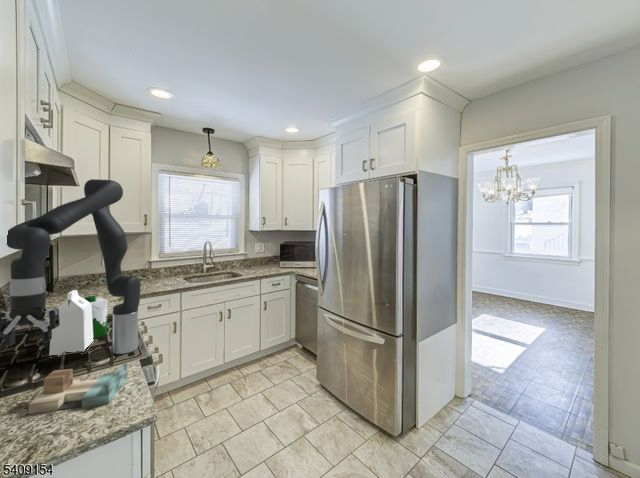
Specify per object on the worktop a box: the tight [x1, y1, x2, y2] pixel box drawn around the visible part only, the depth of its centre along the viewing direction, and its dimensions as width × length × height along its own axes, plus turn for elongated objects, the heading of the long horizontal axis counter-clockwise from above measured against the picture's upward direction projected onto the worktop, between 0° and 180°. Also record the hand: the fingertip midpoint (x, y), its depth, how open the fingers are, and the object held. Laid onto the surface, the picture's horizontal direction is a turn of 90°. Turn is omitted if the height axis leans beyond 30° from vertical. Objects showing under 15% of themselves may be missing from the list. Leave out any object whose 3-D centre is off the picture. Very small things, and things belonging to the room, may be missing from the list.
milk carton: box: [84, 295, 109, 339], centre depth 135 cm, size 9×9×20 cm
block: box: [42, 368, 74, 394], centre depth 87 cm, size 5×5×5 cm
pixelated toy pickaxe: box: [28, 363, 128, 415], centre depth 89 cm, size 14×20×6 cm
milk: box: [48, 289, 94, 357], centre depth 120 cm, size 12×12×26 cm
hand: (28, 343), depth 84 cm, fingers open, 8 cm apart
